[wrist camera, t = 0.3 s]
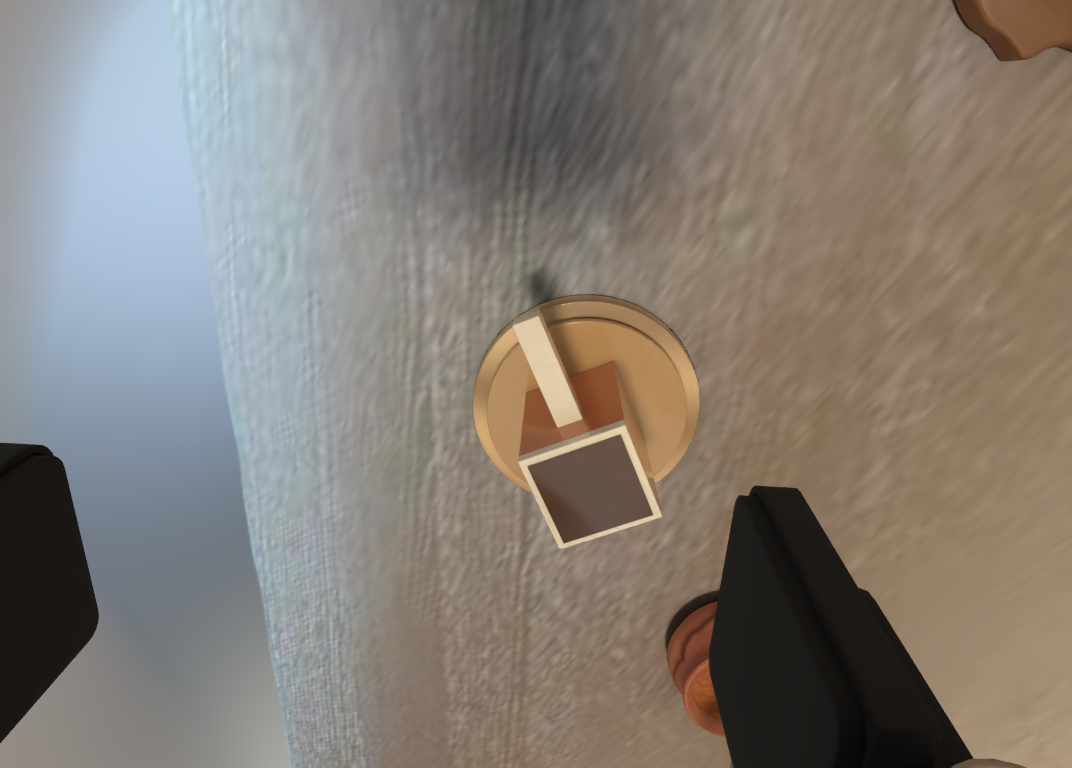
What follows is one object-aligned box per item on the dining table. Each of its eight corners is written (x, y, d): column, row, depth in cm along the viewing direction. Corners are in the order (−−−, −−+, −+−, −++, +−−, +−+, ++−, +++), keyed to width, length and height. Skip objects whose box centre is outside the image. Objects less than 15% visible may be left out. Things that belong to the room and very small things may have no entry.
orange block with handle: (710, 461, 48) (744, 549, 39) (532, 519, 50) (526, 615, 41) (631, 243, 42) (650, 288, 33) (435, 320, 44) (403, 382, 35)
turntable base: (476, 288, 45) (473, 294, 44) (711, 300, 45) (715, 307, 44) (474, 489, 51) (471, 499, 50) (681, 501, 51) (684, 512, 50)
